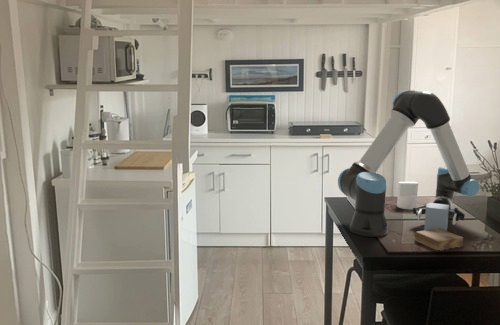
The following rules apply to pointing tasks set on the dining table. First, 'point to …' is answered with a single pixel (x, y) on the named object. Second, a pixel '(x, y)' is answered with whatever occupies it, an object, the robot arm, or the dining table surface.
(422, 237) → the walnut block
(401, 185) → the white cylinder
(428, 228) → the slate block
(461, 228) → the dining table surface
